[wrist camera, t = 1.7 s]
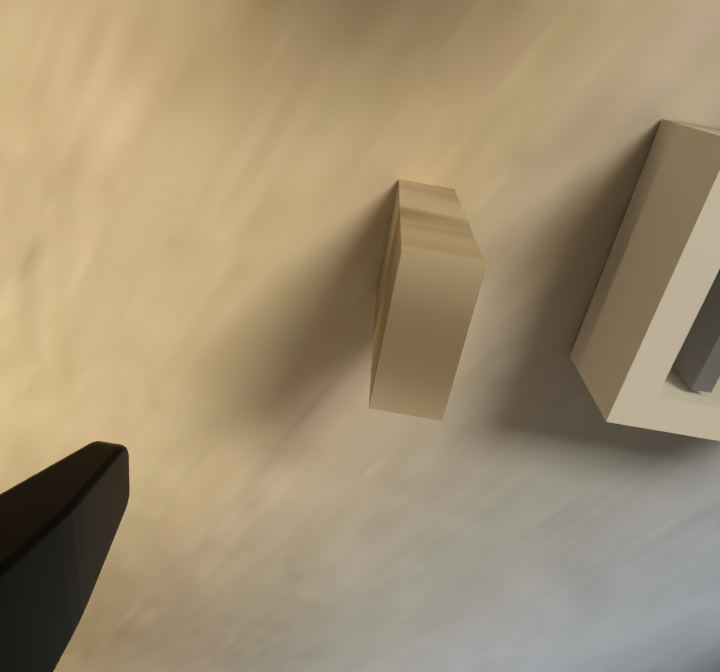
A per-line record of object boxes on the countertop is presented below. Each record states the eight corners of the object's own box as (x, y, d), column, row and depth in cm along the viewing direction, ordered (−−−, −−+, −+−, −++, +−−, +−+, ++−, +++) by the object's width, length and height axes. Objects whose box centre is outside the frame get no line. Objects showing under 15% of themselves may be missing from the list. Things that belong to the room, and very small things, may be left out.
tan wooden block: (427, 302, 20) (441, 420, 14) (376, 293, 20) (368, 408, 14) (454, 189, 18) (485, 267, 12) (398, 179, 18) (401, 252, 12)
